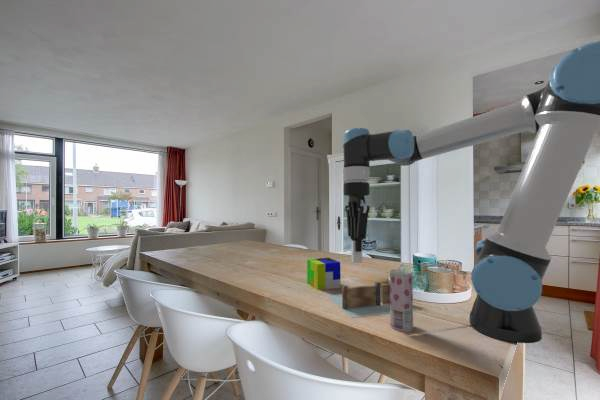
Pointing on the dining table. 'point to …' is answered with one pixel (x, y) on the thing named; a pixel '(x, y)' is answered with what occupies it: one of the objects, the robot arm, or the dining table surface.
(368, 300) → the fence panel
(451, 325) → the dining table surface
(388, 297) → the fence fixed
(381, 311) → the card
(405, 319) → the beverage can
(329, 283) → the puzzle toy
